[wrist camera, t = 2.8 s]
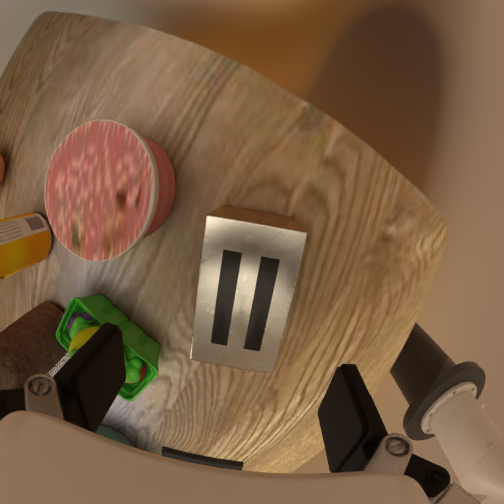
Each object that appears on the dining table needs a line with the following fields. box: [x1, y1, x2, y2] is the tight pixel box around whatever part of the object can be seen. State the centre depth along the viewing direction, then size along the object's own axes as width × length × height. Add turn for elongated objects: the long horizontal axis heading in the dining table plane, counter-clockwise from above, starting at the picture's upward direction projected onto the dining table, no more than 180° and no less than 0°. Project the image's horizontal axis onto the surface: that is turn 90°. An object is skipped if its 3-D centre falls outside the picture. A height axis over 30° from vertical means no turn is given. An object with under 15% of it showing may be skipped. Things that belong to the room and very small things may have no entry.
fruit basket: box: [56, 294, 160, 401], centre depth 23 cm, size 11×9×11 cm
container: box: [44, 119, 175, 262], centre depth 20 cm, size 10×10×8 cm
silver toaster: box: [191, 205, 308, 373], centre depth 22 cm, size 6×12×8 cm, turn 170°
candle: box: [0, 303, 68, 390], centre depth 19 cm, size 8×7×20 cm
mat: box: [162, 447, 243, 470], centre depth 35 cm, size 13×13×1 cm
